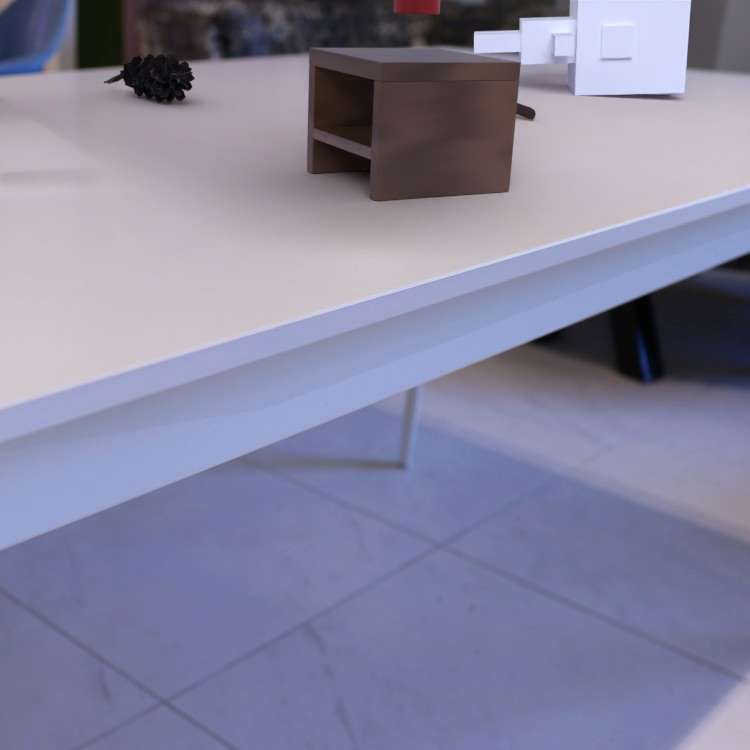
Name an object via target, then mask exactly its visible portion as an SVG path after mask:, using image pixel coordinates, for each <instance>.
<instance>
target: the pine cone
mask: <svg viewBox="0 0 750 750" xmlns="http://www.w3.org/2000/svg"><path fill="white" fill-rule="evenodd" d="M122 65H123V66H122V67H123V68H122V69H121V70H119V74H117V75H114V76H112V77H110V78H109V79H107V80H105V81H103V84H108V85H109V84H115V83H117V82H119V81H121V80H123V82H124V86H126V87H128V88H132V89H133V92H134V94H135V95H136V96H137V97H138V98H140V97H142V96H145V99H147V100H151V99H153V98H154V99H155V100H156V102H157V103H158V104H159V103H162V102H163V101H166V102H168V104H170V103H172V102H173V101H174V100H176V101H178V102H182V101H183V100H184V99H186V98H187V96H186V94H185V92H189V91H191V90H192V89H193V84H192V83H191V82H192V81H194V80H196V78H195V76H193V71H192V70H193V68H192V67H190V64H189V63H188V61H186V60H183V61H182V62H180V61H179V58H178V57H177V56H175V55H174V54H173V53H172V52H170V53H168V54H167V55H166V56H165V55H164V54H163V53H159V54H157V56H156V57H155V56H154V55H153V54H151V53H148V54H147V55H146V56H144V58H141V56H140V54H138V55H137V56H133V57H132V58H131V60H130V62H126V63H123V64H122Z"/></svg>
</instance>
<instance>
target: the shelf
mask: <svg viewBox="0 0 750 750" xmlns="http://www.w3.org/2000/svg"><path fill="white" fill-rule="evenodd" d="M308 50H309V52H308V53H309V54H308V59H309V60H308V95H307V96H308V98H307V99H308V100H307V108H308V109H307V139H306V140H307V142H306V143H307V144H306V146H307V147H306V172H308V173H311V174H327V173H344V172H345V173H346V172H360V171H361V172H362V171H363V172H364V171H369V172H370V174H369V196H368V197H369V199H371V200H373V201H376V202H381V201H393V200H394V201H396V200H409V199H422V198H423V199H424V198H436V197H437V198H438V197H449V196H452V197H453V196H465V195H479V194H493V193H494V194H495V193H505V192H506V193H507V192H508V193H509V192H510V186H511V175H512V174H511V173H512V164H513V150H514V144H515V143H514V142H515V131H516V122H517V121H516V119H517V114H516V110H517V103H518V98H519V86H520V78H521V77H520V74H521V66H522V65H521V63H520V61H514V60H509V59H502V58H496V57H492V56H491V57H490V56H486V55H480V54H475V53H473V54H472V53H467V52H462V51H455V50H450V49H444V48H438V47H437V48H436V47H434V48H433V47H309V48H308Z"/></svg>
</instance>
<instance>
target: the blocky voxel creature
mask: <svg viewBox="0 0 750 750" xmlns="http://www.w3.org/2000/svg"><path fill="white" fill-rule="evenodd" d="M691 8H692V0H569V13H568V14H569V15H568V16H546V17H545V16H544V17H541V16H540V17H520V18H519V25H518V26H519V27H518V29H515V30H511V29H509V30H480V31H479V30H478V31H477V30H476V31H473V32H474V33H473V54H491V53H492V54H494V53H496V54H497V53H518V60H519V62H520V63H521V66H523V65H556V64H558V65H559V64H567V78H566V79H567V80H566V81H567V83H566V85H567V86H568V88H569V89H570V91H571V92H572V93H573V95H574V96H576V97H577V96H610V95H613V96H615V95H617V96H619V95H620V96H621V95H646V96H668V95H669V96H670V95H672V94H685V91H686V76H687V64H688V51H689V48H688V47H689V36H690V35H689V34H690V21H691Z"/></svg>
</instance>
